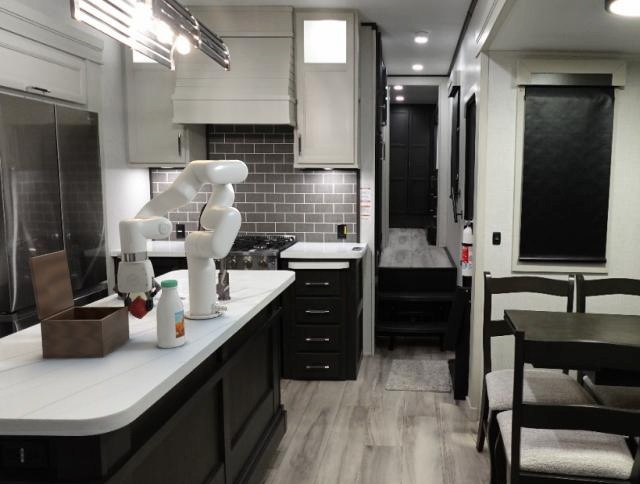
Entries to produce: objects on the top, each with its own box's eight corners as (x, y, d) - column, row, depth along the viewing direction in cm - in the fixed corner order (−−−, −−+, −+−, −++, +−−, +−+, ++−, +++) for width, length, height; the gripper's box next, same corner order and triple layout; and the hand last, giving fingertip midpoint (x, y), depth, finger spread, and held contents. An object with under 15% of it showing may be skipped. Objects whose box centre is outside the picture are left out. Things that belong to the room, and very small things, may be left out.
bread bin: (129, 339, 156) (128, 306, 155) (103, 357, 140) (101, 320, 139) (75, 340, 155) (73, 306, 154) (42, 358, 139) (40, 320, 138)
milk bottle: (167, 350, 147) (164, 284, 145) (152, 345, 151) (149, 281, 149) (190, 343, 153) (188, 280, 151) (175, 338, 157) (173, 277, 155)
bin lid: (65, 250, 151) (63, 250, 151) (31, 258, 136) (28, 258, 136) (74, 305, 154) (71, 305, 154) (41, 319, 138) (38, 319, 138)
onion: (141, 322, 159) (139, 298, 158) (126, 321, 160) (123, 297, 159) (153, 316, 165) (152, 293, 163) (138, 315, 166) (136, 292, 165)
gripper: (101, 259, 155) (106, 315, 158) (157, 258, 156) (161, 313, 159) (113, 255, 163) (118, 308, 165) (166, 254, 164) (170, 307, 166)
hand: (139, 310), depth 162 cm, fingers closed on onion, 5 cm apart
